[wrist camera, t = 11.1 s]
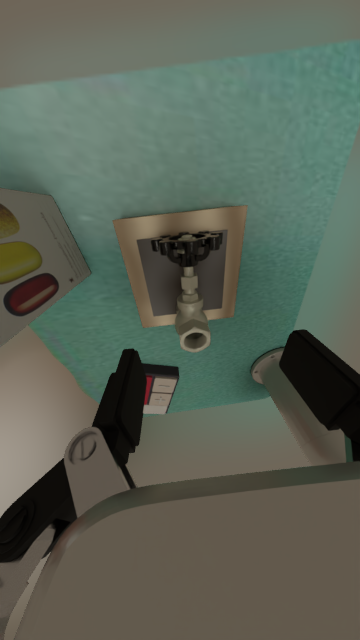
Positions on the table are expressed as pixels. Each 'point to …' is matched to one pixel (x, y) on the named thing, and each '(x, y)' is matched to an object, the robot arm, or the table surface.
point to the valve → (189, 283)
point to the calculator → (159, 387)
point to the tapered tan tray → (165, 276)
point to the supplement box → (33, 259)
